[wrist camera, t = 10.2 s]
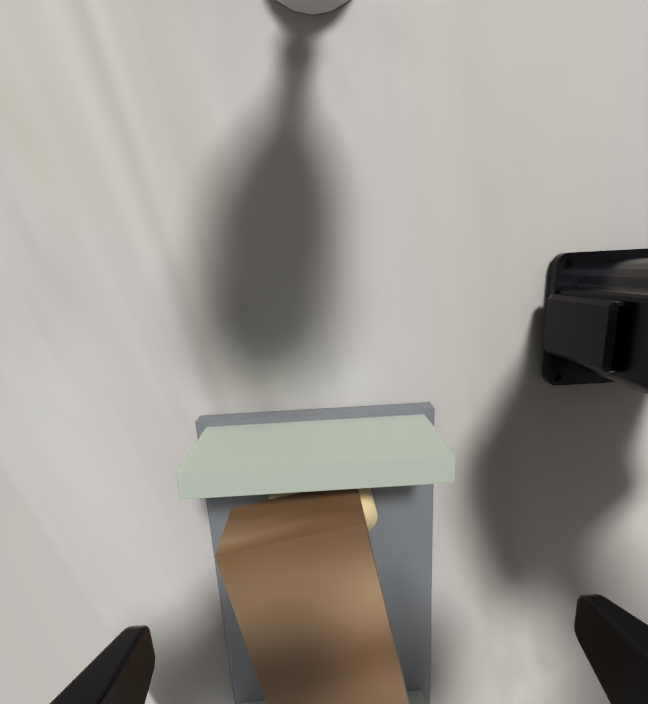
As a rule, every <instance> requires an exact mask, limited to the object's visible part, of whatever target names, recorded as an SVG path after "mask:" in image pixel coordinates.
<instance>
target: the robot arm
mask: <svg viewBox="0 0 648 704" xmlns="http://www.w3.org/2000/svg"><path fill="white" fill-rule="evenodd" d="M565 259H566V261H567V266H566V267H565V268H563V267H562V263H563V261H564V260H565ZM543 348H544V361H543V373H542V375H543V379H544V381H546V382H548V383H550V384H552V385H572V384H589V383H606V382H618V383H620V384H623V385H626V386H628V387H631V388H634V389H636V390H639V391H641V392H644V393H647V394H648V249H632V250H613V251H595V252H576V253H562V254H559V255H557V256H556V257H555V258H554V259H553V261H552V266H551V278H550V290H549V298H548V299H547V303H546V315H545V327H544V339H543ZM556 371H557V375H556V376H555V377H554V378H552V374H553V373H554V372H556ZM574 628H575V633H576V636H577V639H578V641H579V643H580V645H581V647H582V649H583V651H584V653H585V655H586V657H587V659H588V661H589V662H590V664H591V666H592V668H593V670H594V672H595V674H596V676H597V678H598V680H599V682H600V684H601V686H602V688H603V690H604V691H605V693H606V695H607V697H608V699H609V701H610V703H611V704H648V625H647V624H645V623H644V622H642V621H641V620H639V619H638V618H636V617H635V616H633V615H631V614H630V613H628V612H627V611H625V610H624V609H622V608H621V607H619V606H618V605H616V604H614V603H613V602H611V601H610V600H608V599H607V598H605V597H603V596H601V595H598V594H592V595H581V596H580V597H579V598H578V600H577V607H576V615H575V623H574ZM154 665H155V653H154V649H153V644H152V639H151V634H150V630H149V628H148V627H147V626H145V625H144V626H131V627H128V628H126V629H125V630H123V631H122V632H121V633H120V634H119V635H118V636H117V637H116V638H115V639H114V640H113V641H112V642H111V643H110V644H109V645H108V646H107V647H106V648H105V649H104V650H103V651H102V652H101V653H100V654H99V655H98V656H97V657H96V658H95V659H94V660H93V661H92V662H91V663H90V664H89V665H88V666H87V667H86V668H85V669H84V670H83V671H82V672H81V673H80V674H79V675H78V676H77V677H76V678H75V679H74V680H73V681H72V682H71V683H70V684H69V685H68V686H67V687H66V688H65V689H64V690H63V691H62V692H61V693H60V694H59V695H58V696H57V697H56V698H55V699H54V700H53V701H52V702H51V703H50V704H144V703H145V700H146V696H147V693H148V689H149V685H150V681H151V678H152V674H153V670H154Z"/></svg>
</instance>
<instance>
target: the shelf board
mask: <svg viewBox="0 0 648 704" xmlns="http://www.w3.org/2000/svg"><path fill="white" fill-rule="evenodd" d="M215 559H216V562H217V565H218V568H219V570H220V573H221V576H222V579H223V582H224V584H225V587H226V590H227V593H228V596H229V598H230V601H231V604H232V607H233V610H234V612H235V615H236V618H237V621H238V624H239V626H240V629H241V632H242V635H243V637H244V640H245V643H246V646H247V649H248V651H249V654H250V657H251V660H252V663H253V665H254V668H255V671H256V674H257V677H258V679H259V682H260V685H261V688H262V691H263V693H264V696H265V699H266V702H267V704H410V702H409V698H408V694H407V690H406V686H405V682H404V677H403V673H402V669H401V665H400V661H399V657H398V652H397V648H396V644H395V640H394V636H393V632H392V627H391V623H390V619H389V615H388V611H387V607H386V602H385V598H384V594H383V590H382V586H381V582H380V577H379V573H378V569H377V565H376V561H375V557H374V553H373V548H372V544H371V540H370V536H369V532H368V528H367V523H366V519H365V515H364V511H363V507H362V503H361V498H360V494H359V490H358V489H342V490H326V491H310V492H301V493H296V494H292V495H287V496H283V497H278V498H274V499H270V500H265V501H261V502H256V503H252V504H247V505H243V506H238V507H234V508H231V511H230V513H229V516H228V519H227V522H226V525H225V528H224V531H223V534H222V537H221V540H220V543H219V546H218V549H217V551H216V554H215Z"/></svg>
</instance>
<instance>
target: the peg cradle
mask: <svg viewBox="0 0 648 704" xmlns="http://www.w3.org/2000/svg"><path fill="white" fill-rule="evenodd" d="M196 430H197V437H198V440H197V442H196V443H195V445H194V446H193V448H192V449H191V451H190V452H189V454H188V455H187V456H186V458H185V459H184V461H183V462H182V464H181V465H180V467H179V468H178V470H177V471H176V477H177V483H178V489H179V496H180V499H197V498H206V501H207V508H208V515H209V522H210V530H211V537H212V544H213V551H214V558H215V554H216V551H217V549H218V546H219V543H220V540H221V537H222V534H223V531H224V528H225V525H226V522H227V519H228V516H229V513H230V511H231V508H234V507H238V506H243V505H247V504H252V503H256V502H261V501H265V500H270V499H274V498H278V497H283V496H287V495H292V494H296V493H301V492H310V491H326V490H342V489H358V490H359V494H360V498H361V503H362V507H363V511H364V515H365V519H366V523H367V528H368V532H369V536H370V540H371V544H372V548H373V553H374V557H375V561H376V565H377V569H378V573H379V577H380V582H381V586H382V590H383V594H384V598H385V602H386V607H387V611H388V615H389V619H390V623H391V627H392V632H393V636H394V640H395V644H396V648H397V652H398V657H399V661H400V665H401V669H402V673H403V677H404V682H405V686H406V690H407V694H408V698H409V702H410V704H430V647H431V587H432V526H433V484H440V483H455V454H454V453H453V452H452V450H451V449H450V448H449V446H448V445H447V444H446V442H445V441H444V440H443V438H442V437H441V436H440V434H439V433H438V432H437V430H436V429H435V428H434V407H433V406H432V405H431V403H430V402H427V403H410V404H393V405H376V406H359V407H342V408H324V409H307V410H290V411H273V412H256V413H239V414H222V415H205V416H200V417H199V418H198V419H197V421H196ZM215 565H216V572H217V580H218V587H219V594H220V601H221V608H222V615H223V622H224V629H225V637H226V644H227V651H228V658H229V665H230V672H231V679H232V687H233V694H234V701H235V704H267V702H266V699H265V696H264V693H263V691H262V688H261V685H260V682H259V679H258V677H257V674H256V671H255V668H254V665H253V663H252V660H251V657H250V654H249V651H248V649H247V646H246V643H245V640H244V637H243V635H242V632H241V629H240V626H239V624H238V621H237V618H236V615H235V612H234V610H233V607H232V604H231V601H230V598H229V596H228V593H227V590H226V587H225V584H224V582H223V579H222V576H221V573H220V570H219V568H218V565H217V562H216V559H215Z"/></svg>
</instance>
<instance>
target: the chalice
mask: <svg viewBox="0 0 648 704" xmlns="http://www.w3.org/2000/svg"><path fill="white" fill-rule="evenodd" d="M276 1H278V2H279V3H281V4H283V5H284V6H286V7H288V8H289V9H291V10H293V11H296V12H301V13H306V14H311V15H314V14H320V13H325V12H331V11H333V10H334V9H336V8H338V7H339V6H341V5H343V4H344V3H346V2H348V1H349V0H276Z"/></svg>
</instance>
